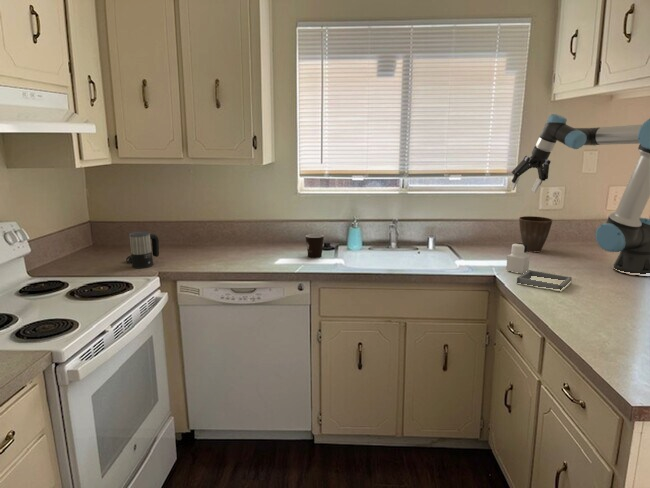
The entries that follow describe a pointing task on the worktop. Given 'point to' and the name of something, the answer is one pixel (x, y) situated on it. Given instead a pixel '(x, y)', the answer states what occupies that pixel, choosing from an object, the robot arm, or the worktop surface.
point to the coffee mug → (314, 245)
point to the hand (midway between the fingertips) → (522, 190)
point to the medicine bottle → (518, 258)
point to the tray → (526, 280)
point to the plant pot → (534, 231)
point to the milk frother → (142, 249)
